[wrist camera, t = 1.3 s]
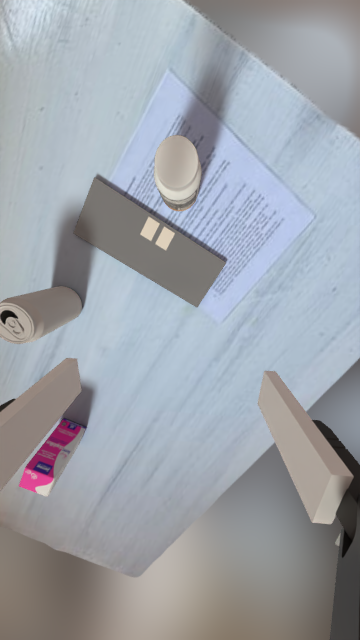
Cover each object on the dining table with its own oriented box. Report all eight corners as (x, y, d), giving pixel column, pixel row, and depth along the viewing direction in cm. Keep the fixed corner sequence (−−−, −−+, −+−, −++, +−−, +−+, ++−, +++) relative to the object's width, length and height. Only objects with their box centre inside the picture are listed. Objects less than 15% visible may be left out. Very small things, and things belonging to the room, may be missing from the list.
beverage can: (72, 280, 35) (15, 291, 23) (90, 311, 36) (45, 336, 25) (43, 293, 36) (-25, 311, 24) (62, 323, 37) (7, 353, 26)
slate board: (75, 233, 32) (72, 233, 31) (96, 178, 30) (94, 176, 29) (196, 306, 35) (197, 307, 34) (225, 262, 33) (226, 262, 32)
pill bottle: (166, 164, 29) (156, 119, 19) (203, 176, 29) (210, 137, 19) (157, 206, 30) (143, 183, 21) (192, 217, 31) (194, 199, 21)
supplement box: (87, 426, 45) (55, 479, 34) (80, 442, 47) (47, 498, 36) (63, 416, 45) (23, 468, 34) (57, 433, 46) (17, 488, 36)
